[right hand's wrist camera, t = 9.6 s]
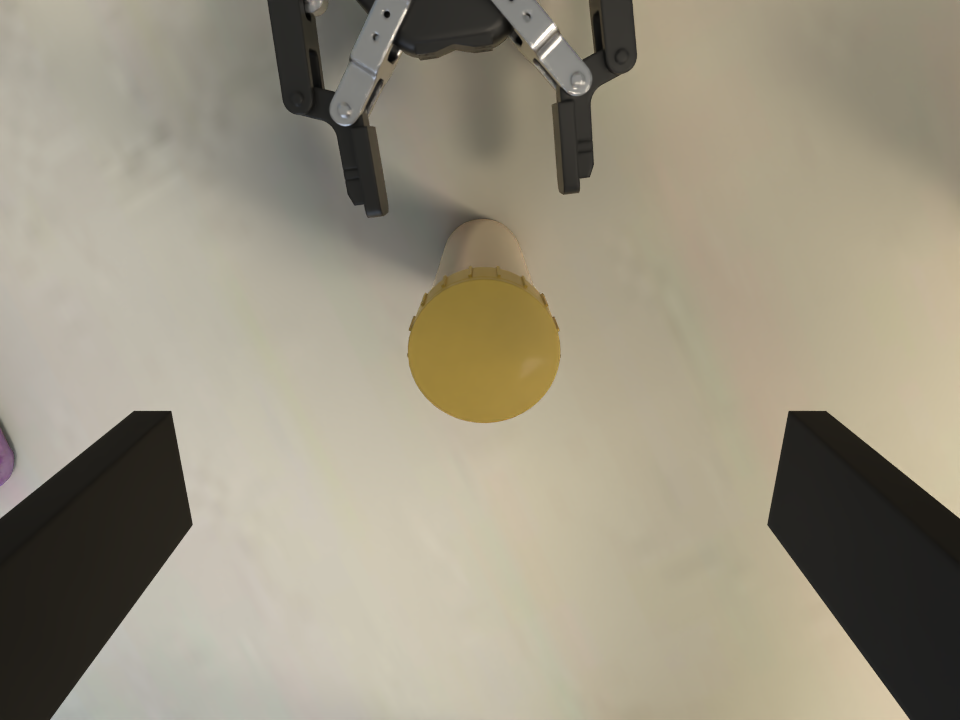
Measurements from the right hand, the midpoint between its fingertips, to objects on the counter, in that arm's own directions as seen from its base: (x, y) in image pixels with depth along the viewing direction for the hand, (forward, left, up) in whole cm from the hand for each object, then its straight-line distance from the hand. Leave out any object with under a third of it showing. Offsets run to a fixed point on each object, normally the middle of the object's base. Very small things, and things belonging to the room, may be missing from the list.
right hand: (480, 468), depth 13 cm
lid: (0, 0, -7) cm, 7 cm away
